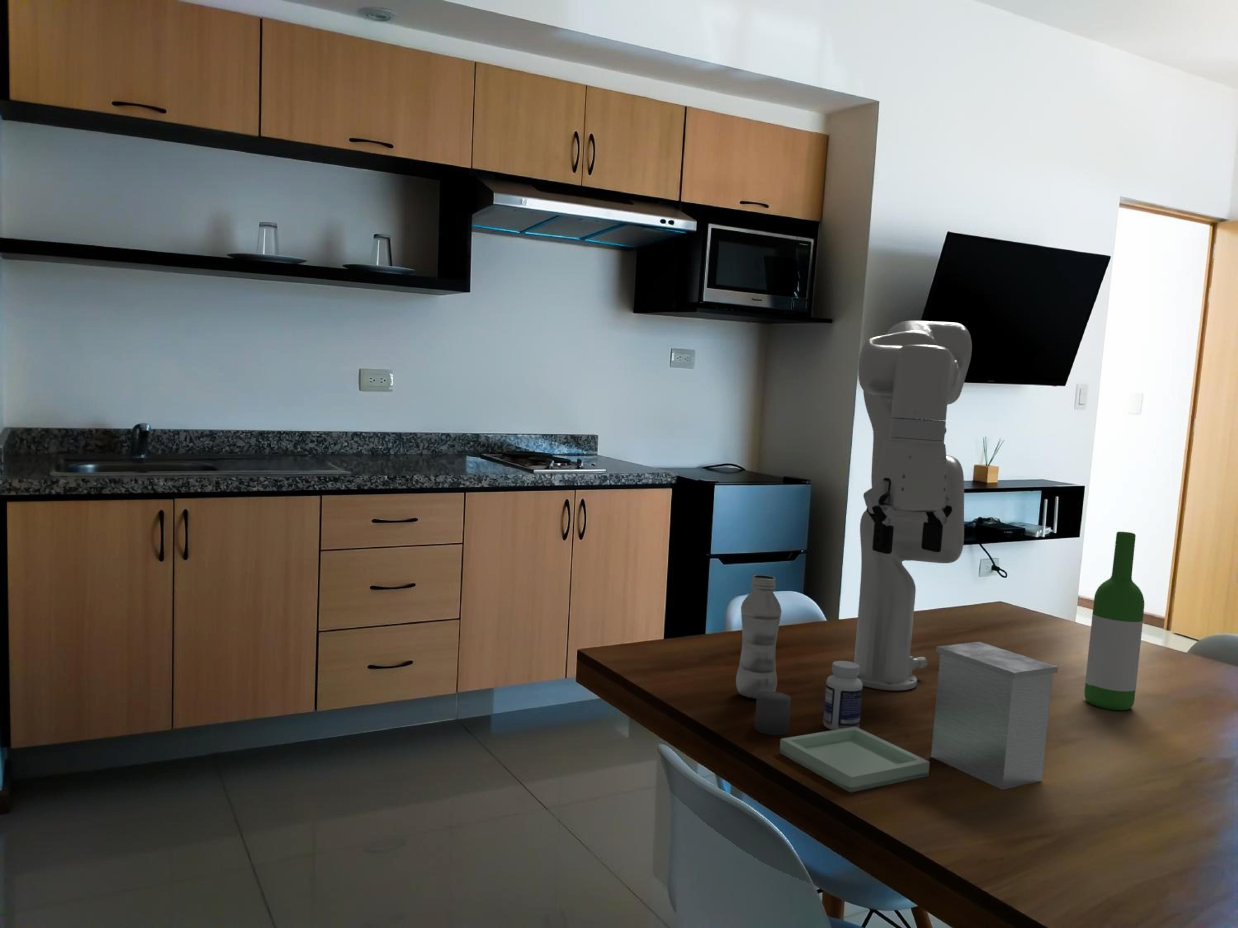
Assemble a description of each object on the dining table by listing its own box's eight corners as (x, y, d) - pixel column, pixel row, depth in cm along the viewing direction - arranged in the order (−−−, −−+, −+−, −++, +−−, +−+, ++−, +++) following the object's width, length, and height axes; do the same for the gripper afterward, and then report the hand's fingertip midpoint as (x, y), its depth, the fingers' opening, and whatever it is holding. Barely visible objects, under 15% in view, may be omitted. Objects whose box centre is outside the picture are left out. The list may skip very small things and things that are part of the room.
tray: (854, 739, 141) (855, 726, 140) (928, 776, 128) (929, 761, 128) (779, 752, 134) (780, 738, 133) (850, 792, 121) (851, 776, 121)
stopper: (774, 721, 146) (776, 689, 146) (795, 732, 142) (798, 699, 142) (747, 725, 144) (750, 693, 143) (768, 737, 140) (771, 703, 139)
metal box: (969, 747, 140) (979, 641, 139) (1046, 781, 129) (1058, 666, 128) (926, 755, 136) (936, 646, 135) (1002, 791, 125) (1014, 672, 124)
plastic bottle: (775, 705, 154) (784, 582, 152) (732, 700, 155) (741, 578, 154) (776, 693, 160) (785, 575, 159) (736, 688, 161) (744, 571, 160)
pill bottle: (864, 726, 147) (869, 663, 146) (852, 736, 142) (857, 671, 141) (830, 718, 150) (835, 656, 149) (817, 727, 145) (822, 664, 144)
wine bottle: (1114, 714, 161) (1133, 536, 158) (1073, 699, 167) (1090, 529, 165) (1143, 709, 164) (1162, 536, 162) (1102, 695, 171) (1119, 528, 169)
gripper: (939, 432, 144) (929, 545, 145) (852, 428, 135) (843, 548, 137) (980, 436, 137) (969, 554, 139) (891, 432, 129) (881, 557, 130)
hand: (906, 551), depth 138 cm, fingers open, 9 cm apart
